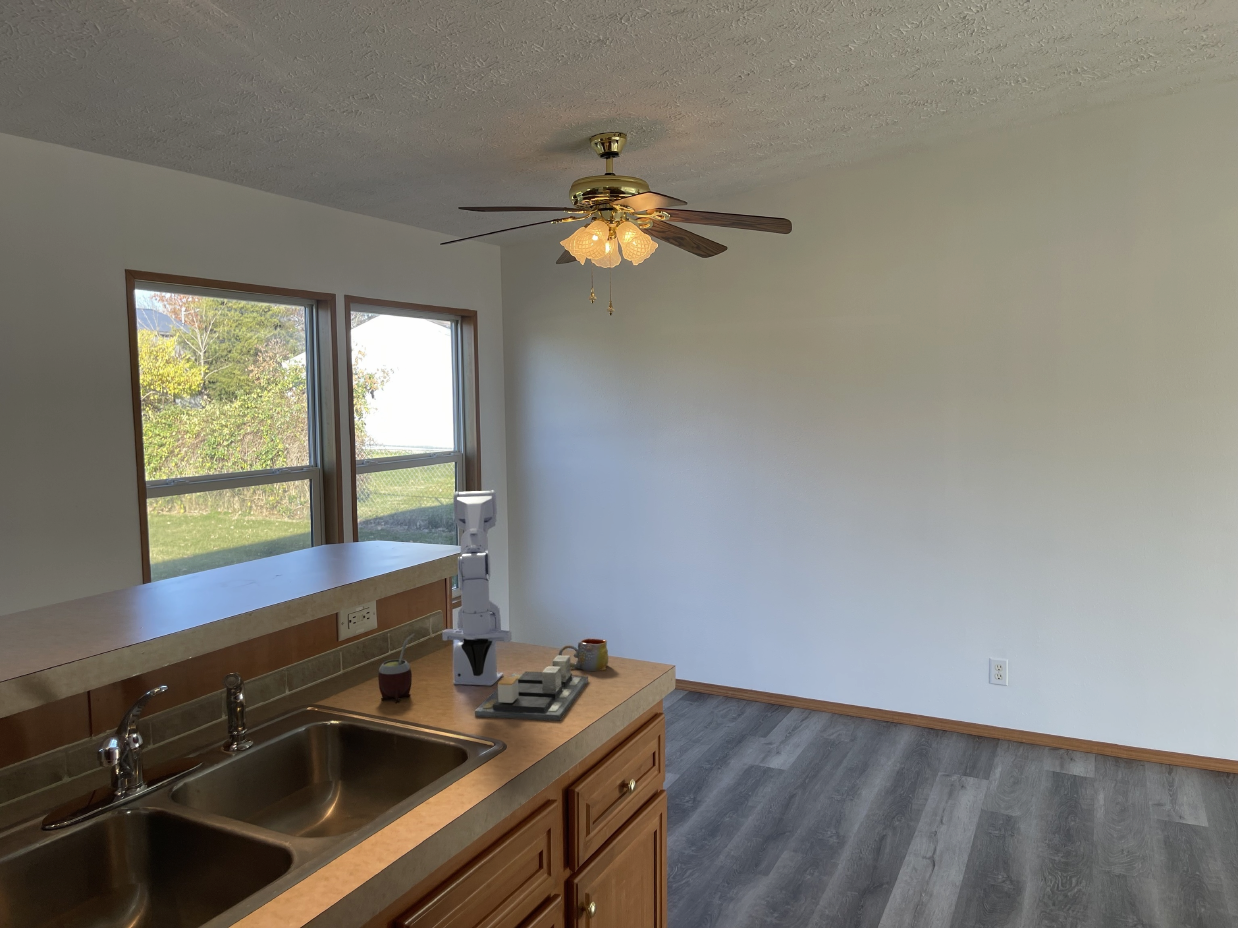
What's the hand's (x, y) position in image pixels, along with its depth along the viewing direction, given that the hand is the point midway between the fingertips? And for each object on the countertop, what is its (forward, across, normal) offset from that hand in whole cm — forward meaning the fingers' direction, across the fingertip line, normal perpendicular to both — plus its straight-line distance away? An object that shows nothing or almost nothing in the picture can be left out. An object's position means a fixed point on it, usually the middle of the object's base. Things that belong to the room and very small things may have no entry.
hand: (478, 674), depth 173 cm
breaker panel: (+8, +10, +8) cm, 15 cm away
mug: (+8, +15, +30) cm, 34 cm away
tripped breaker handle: (+5, +6, 0) cm, 8 cm away
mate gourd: (+8, -20, +4) cm, 22 cm away
